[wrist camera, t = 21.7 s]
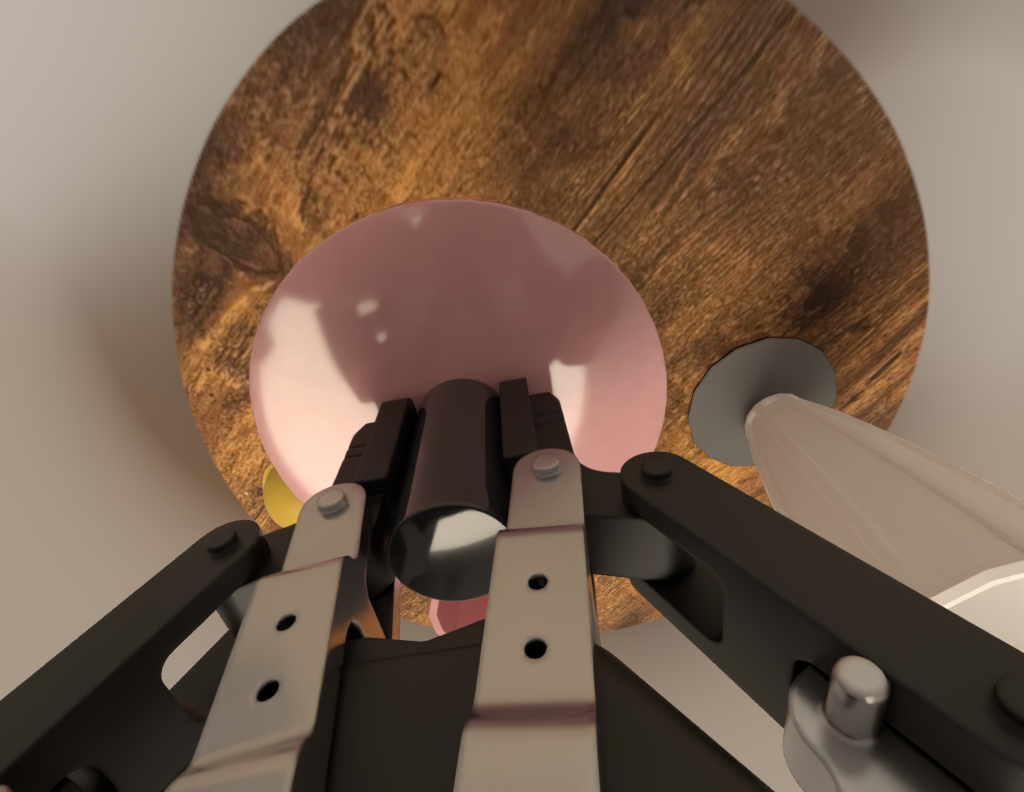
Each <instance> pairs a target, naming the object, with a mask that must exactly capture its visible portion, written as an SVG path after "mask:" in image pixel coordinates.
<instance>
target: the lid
mask: <svg viewBox="0 0 1024 792" xmlns="http://www.w3.org/2000/svg"><path fill="white" fill-rule="evenodd" d="M524 377H526V381H527V386H528V392H529V395H532V394H538V393H544V392H550V393H551V394H553V395H554V396H555V397H556V398H558V399H559V400H560V404H561V408H562V412H563V415H564V418H565V422H566V426H567V429H568V433H569V437H570V440H571V444H572V447H573V451H574V454H575V456H576V457H577V458H578V459H579V462H580V463H581V464H583V465H584V466H586V467H588V468H591V469H594V470H598V471H603V472H619V473H620V470H621V468H622V466H623V464H624V463H625V462H626V461H627V460H629V459H630V458H632V457H634V456H636V455H639V454H642V453H647V452H654V450H655V447H656V445H657V442H658V439H659V436H660V432H661V429H662V425H663V422H664V415H665V408H666V401H667V371H666V365H665V359H664V352H663V348H662V344H661V341H660V338H659V335H658V332H657V329H656V326H655V323H654V321H653V319H652V317H651V315H650V313H649V311H648V309H647V307H646V305H645V303H644V301H643V299H642V298H641V297H640V295H639V294H638V292H637V291H636V289H635V288H634V286H633V285H632V284H631V282H630V281H629V279H628V278H627V277H626V276H625V275H624V274H623V273H622V272H621V270H620V269H619V268H618V267H617V266H616V265H615V264H614V263H613V262H612V261H611V260H610V259H609V258H608V257H607V256H606V255H605V254H604V253H603V252H602V251H601V250H600V249H598V248H597V247H596V246H595V245H593V244H592V243H591V242H590V241H588V240H587V239H586V238H584V237H583V236H582V235H580V234H579V233H577V232H575V231H574V230H572V229H570V228H569V227H567V226H565V225H563V224H562V223H560V222H558V221H557V220H555V219H552V218H550V217H547V216H545V215H543V214H540V213H538V212H535V211H533V210H530V209H528V208H525V207H521V206H517V205H513V204H509V203H505V202H501V201H497V200H490V199H481V198H472V197H433V198H427V199H421V200H415V201H409V202H403V203H400V204H396V205H393V206H390V207H387V208H384V209H381V210H378V211H374V212H372V213H370V214H368V215H366V216H363V217H361V218H359V219H357V220H355V221H353V222H351V223H349V224H347V225H345V226H344V227H342V228H341V229H339V230H338V231H336V232H335V233H333V234H332V235H330V236H329V237H328V238H326V239H325V240H323V241H322V242H320V243H319V244H317V245H316V246H315V247H314V248H313V249H312V250H310V251H309V252H308V253H307V254H306V255H305V256H304V257H303V258H302V259H301V260H300V261H299V262H298V263H297V264H296V265H295V266H294V267H293V268H292V269H291V270H290V272H289V273H288V274H287V276H286V277H285V278H284V279H283V281H282V282H281V283H280V285H279V286H278V287H277V289H276V290H275V292H274V294H273V296H272V298H271V299H270V301H269V303H268V305H267V307H266V309H265V310H264V312H263V315H262V318H261V320H260V323H259V326H258V329H257V332H256V335H255V338H254V343H253V348H252V354H251V360H250V380H249V390H250V398H251V405H252V413H253V417H254V420H255V424H256V427H257V431H258V434H259V437H260V440H261V442H262V444H263V446H264V449H265V451H266V453H267V455H268V457H269V460H270V461H271V463H272V464H273V466H274V468H275V469H276V471H277V472H278V474H279V476H280V477H281V479H282V480H283V481H284V483H285V484H286V485H287V486H288V488H289V489H290V490H291V491H292V492H293V494H294V495H295V496H296V497H297V498H298V499H299V500H300V501H301V502H302V503H303V504H305V503H306V501H307V500H308V499H310V498H311V497H312V496H313V495H315V494H316V493H318V492H320V491H321V490H323V489H325V488H328V487H330V486H332V485H333V482H334V480H335V478H336V475H337V473H338V471H339V468H340V466H341V464H342V461H343V460H344V459H345V458H344V457H345V454H346V452H347V450H349V448H348V447H349V445H350V442H351V440H352V438H353V435H354V434H355V433H356V432H357V431H358V430H360V429H361V428H362V427H363V426H364V425H365V424H366V423H371V422H375V420H376V417H377V414H378V412H379V409H380V406H381V404H382V403H383V402H387V401H393V400H398V399H404V398H411V399H412V400H413V402H414V405H415V408H416V412H417V419H416V423H415V428H414V432H413V436H412V440H411V445H410V449H409V453H408V458H407V462H406V466H405V470H404V475H403V479H402V483H401V487H400V492H399V496H398V500H397V505H396V509H395V513H394V517H393V522H392V526H391V530H390V535H389V539H388V544H387V558H388V562H389V565H390V567H391V569H392V571H393V573H394V575H395V576H396V577H397V579H398V580H399V581H400V582H401V583H402V584H403V585H405V586H406V587H407V588H409V589H410V590H412V591H414V592H415V593H417V594H420V595H422V596H425V597H428V598H431V599H435V600H441V601H466V600H471V599H476V598H479V597H482V596H485V595H487V594H489V589H490V582H491V575H492V567H493V560H494V553H495V545H496V538H497V534H498V531H499V530H507V524H508V515H509V506H510V497H511V489H510V486H509V481H508V476H507V472H506V467H505V463H504V458H503V443H502V425H501V408H500V390H499V382H501V381H507V380H513V379H518V378H524Z"/></svg>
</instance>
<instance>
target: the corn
mask: <svg viewBox="0 0 1024 792" xmlns="http://www.w3.org/2000/svg"><path fill="white" fill-rule="evenodd" d="M262 486H263V498H264V504H265V507H266V509H267V511H268V513H269V515H270V516H271V518H272V519H273V520H274V521H275V522H276V523H277V524H278V525H280V526H281V527H283V528H285V527H287V526H290V525H292V524H295V523H297V519H298V516H299V513H300V510H301V508H302V507H303V505H304V504H303V503H302V502H301V501H300V500H299V499H298V498H297V497H296V496H295V495H294V494H293V492H292V491H291V490H290V489H289V488H288V486H287V485H286V484H285V483H284V481H283V480H282V479H281V477H280V476H279V474H278V472H277V471H276V469H275V468H274V466H273V464H272V463H271V462H270V464H269V465H268V467H267V468H266V470H265V472H264V475H263V479H262Z"/></svg>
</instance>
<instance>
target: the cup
mask: <svg viewBox="0 0 1024 792" xmlns="http://www.w3.org/2000/svg"><path fill="white" fill-rule="evenodd" d="M835 398H836V380H835V370H834V369H833V367H832V366H831V364H830V363H829V361H828V360H827V358H826V357H825V355H824V354H823V352H822V351H821V350H819V349H817V348H815V347H813V346H811V345H809V344H807V343H805V342H803V341H801V340H799V339H782V338H767V339H764V340H761V341H758V342H755V343H752V344H749V345H746V346H743V347H740V348H737V349H735V350H734V351H733V352H731V353H730V354H728V355H727V356H726V357H724V358H723V359H722V360H720V361H719V362H718V363H716V364H715V365H714V366H712V367H711V368H710V370H709V371H708V372H707V374H706V375H705V377H704V378H703V380H702V381H701V382H700V384H699V385H698V387H697V388H696V390H695V391H694V394H693V398H692V402H691V406H690V411H689V415H688V420H689V425H690V429H691V433H692V438H693V441H694V442H695V443H696V444H697V445H698V446H699V447H700V448H701V450H702V451H703V452H704V453H705V454H706V455H707V456H708V457H710V458H712V459H715V460H717V461H720V462H722V463H724V464H727V465H729V466H756V467H757V470H758V472H759V475H760V477H761V480H762V483H763V485H764V488H765V490H766V493H767V495H768V498H769V500H770V502H771V504H772V506H773V508H774V510H775V511H777V512H779V513H780V514H782V515H784V516H786V517H787V518H789V519H791V520H793V521H794V522H796V523H798V524H800V525H801V526H803V527H805V528H807V529H808V530H810V531H812V532H813V533H815V534H817V535H819V536H820V537H822V538H824V539H826V540H827V541H829V542H831V543H833V544H834V545H836V546H838V547H840V548H841V549H843V550H845V551H847V552H848V553H850V554H852V555H854V556H855V557H857V558H859V559H861V560H862V561H864V562H866V563H868V564H869V565H871V566H873V567H875V568H876V569H878V570H880V571H882V572H883V573H885V574H887V575H889V576H890V577H892V578H894V579H896V580H897V581H899V582H901V583H903V584H904V585H906V586H908V587H910V588H911V589H913V590H915V591H917V592H918V593H920V594H922V595H924V596H925V597H927V598H929V599H931V600H932V601H934V602H936V603H938V604H939V605H941V606H943V607H945V608H946V609H948V610H950V611H952V612H953V613H955V614H957V615H959V616H960V617H962V618H964V619H966V620H967V621H969V622H971V623H973V624H974V625H976V626H978V627H980V628H981V629H983V630H985V631H987V632H988V633H990V634H992V635H994V636H995V637H997V638H999V639H1001V640H1002V641H1004V642H1006V643H1008V644H1009V645H1011V646H1013V647H1015V648H1016V649H1018V650H1020V651H1022V652H1023V653H1024V501H1022V500H1020V499H1018V498H1017V497H1015V496H1013V495H1011V494H1009V493H1008V492H1006V491H1004V490H1002V489H1000V488H998V487H997V486H995V485H993V484H991V483H989V482H987V481H986V480H984V479H982V478H980V477H978V476H976V475H974V474H972V473H970V472H968V471H966V470H964V469H962V468H960V467H958V466H956V465H954V464H952V463H950V462H948V461H946V460H944V459H942V458H940V457H938V456H936V455H934V454H932V453H930V452H928V451H926V450H924V449H922V448H920V447H918V446H916V445H914V444H912V443H910V442H908V441H906V440H904V439H902V438H900V437H898V436H896V435H894V434H891V433H889V432H887V431H884V430H882V429H880V428H878V427H875V426H873V425H871V424H868V423H866V422H864V421H861V420H859V419H857V418H854V417H852V416H850V415H848V414H845V413H843V412H841V411H838V410H835V409H832V406H833V403H834V401H835Z"/></svg>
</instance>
